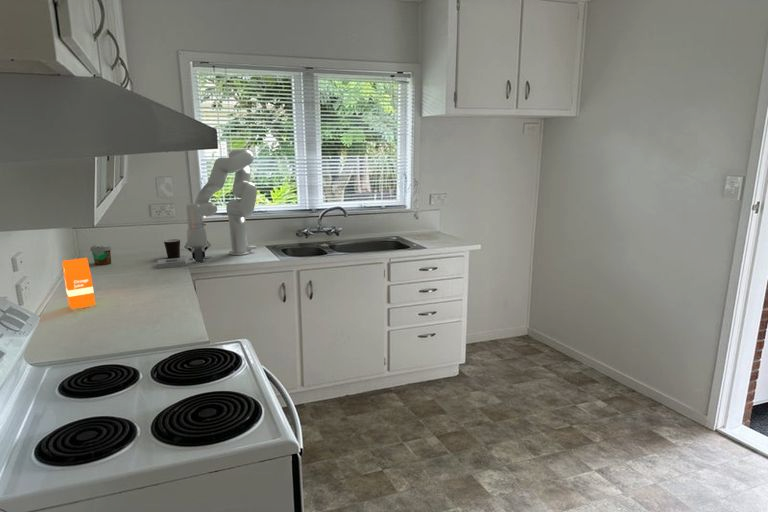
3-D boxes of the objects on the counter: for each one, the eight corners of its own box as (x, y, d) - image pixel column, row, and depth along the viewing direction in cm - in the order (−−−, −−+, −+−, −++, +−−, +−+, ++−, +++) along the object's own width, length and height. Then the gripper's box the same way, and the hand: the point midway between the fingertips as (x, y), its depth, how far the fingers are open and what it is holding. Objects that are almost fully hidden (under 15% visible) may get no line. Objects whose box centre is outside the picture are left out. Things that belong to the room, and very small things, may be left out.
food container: (87, 264, 278) (84, 247, 276) (97, 262, 283) (94, 244, 281) (103, 266, 273) (100, 248, 271) (113, 264, 279) (110, 246, 277)
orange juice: (68, 306, 209) (60, 259, 205) (92, 302, 214) (86, 255, 210) (71, 311, 203) (63, 262, 198) (96, 306, 208) (89, 259, 204)
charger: (203, 260, 284) (201, 246, 282) (203, 262, 280) (201, 247, 279) (195, 261, 283) (194, 246, 281) (195, 262, 279) (194, 248, 277)
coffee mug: (178, 259, 288) (176, 242, 286) (163, 259, 288) (161, 242, 286) (186, 254, 299) (184, 237, 297) (171, 254, 299) (170, 238, 297)
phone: (210, 257, 295) (210, 255, 294) (211, 259, 290) (211, 257, 289) (190, 258, 291) (190, 257, 291) (190, 261, 286) (190, 259, 286)
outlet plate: (185, 261, 282) (185, 257, 281) (185, 265, 273) (185, 261, 272) (158, 264, 277) (157, 259, 277) (157, 268, 268) (156, 264, 268)
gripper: (211, 224, 283) (214, 256, 287) (179, 226, 278) (182, 258, 282) (212, 226, 276) (215, 259, 281) (179, 228, 271) (182, 261, 275)
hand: (199, 258), depth 281 cm, fingers closed on charger, 4 cm apart
